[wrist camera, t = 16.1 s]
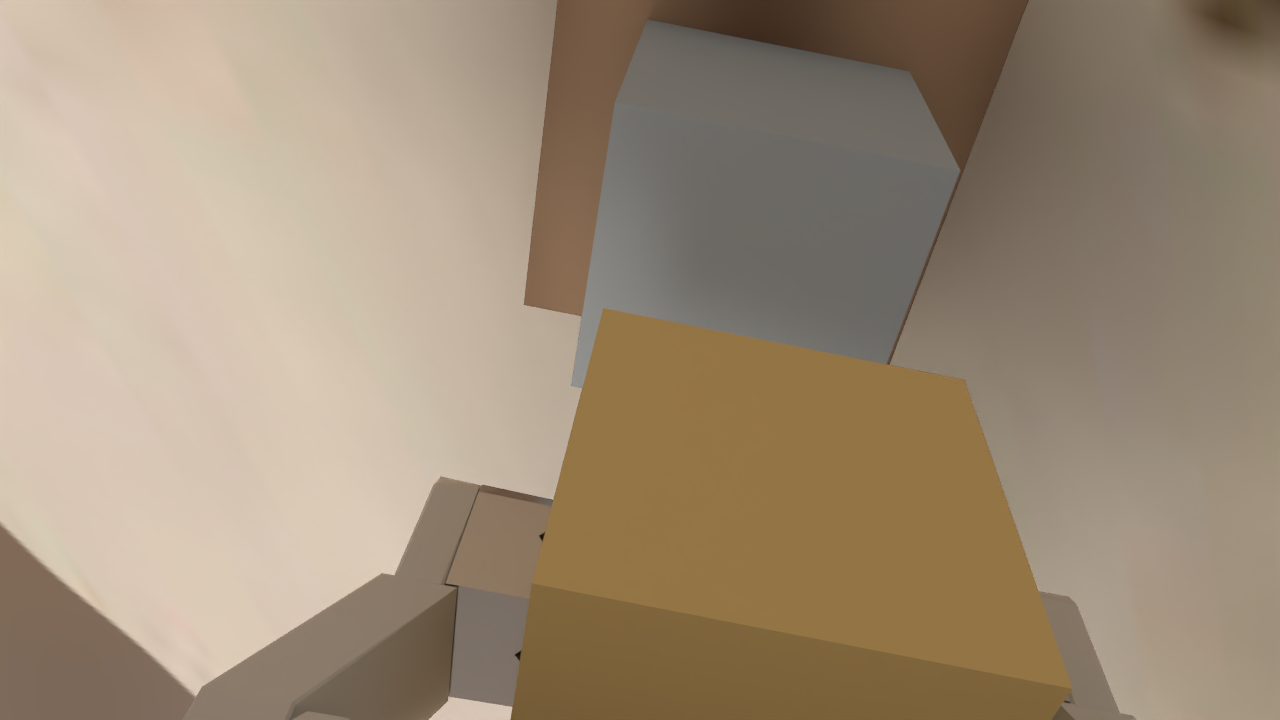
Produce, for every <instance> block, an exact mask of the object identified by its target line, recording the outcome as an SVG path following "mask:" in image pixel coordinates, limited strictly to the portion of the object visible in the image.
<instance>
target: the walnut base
mask: <svg viewBox="0 0 1280 720" xmlns="http://www.w3.org/2000/svg"><path fill="white" fill-rule="evenodd" d="M1027 3H1028V0H558V3H557V12H556V21H555V30H554V39H553V48H552V57H551V66H550V75H549V84H548V93H547V102H546V111H545V120H544V129H543V138H542V147H541V156H540V165H539V174H538V183H537V192H536V200H535V209H534V218H533V227H532V236H531V245H530V254H529V263H528V272H527V281H526V290H525V299H524V305H528V306H533V307H538V308H543V309H548V310H553V311H558V312H563V313H569V314H574V315H579V316H582V312H583V306H584V299H585V293H586V286H587V280H588V273H589V267H590V260H591V254H592V247H593V241H594V234H595V228H596V221H597V215H598V208H599V202H600V195H601V189H602V182H603V176H604V169H605V163H606V156H607V150H608V143H609V137H610V130H611V124H612V117H613V111H614V105H615V100H616V98H617V95H618V93H619V90H620V88H621V85H622V83H623V80H624V78H625V75H626V73H627V70H628V67H629V65H630V62H631V60H632V57H633V55H634V52H635V50H636V47H637V45H638V42H639V40H640V37H641V34H642V32H643V29H644V27H645V24H646V22H647V19H648V20H653V21H658V22H663V23H668V24H673V25H678V26H683V27H688V28H693V29H698V30H703V31H708V32H713V33H718V34H723V35H728V36H733V37H738V38H744V39H749V40H754V41H759V42H764V43H769V44H774V45H779V46H784V47H789V48H794V49H799V50H804V51H809V52H814V53H819V54H824V55H829V56H834V57H839V58H844V59H849V60H854V61H859V62H864V63H869V64H875V65H880V66H885V67H890V68H895V69H900V70H905V71H910V73H911V75H912V77H913V79H914V81H915V83H916V85H917V87H918V89H919V91H920V93H921V95H922V96H923V98H924V100H925V102H926V104H927V106H928V108H929V110H930V112H931V114H932V116H933V118H934V120H935V122H936V124H937V126H938V128H939V130H940V132H941V134H942V135H943V137H944V139H945V141H946V143H947V145H948V147H949V149H950V151H951V153H952V155H953V157H954V159H955V161H956V163H957V165H958V167H959V169H960V173H959V175H958V178H957V181H956V183H955V186H954V189H953V191H952V194H951V196H950V199H949V202H948V204H947V207H946V210H945V212H944V215H943V217H942V220H941V223H940V225H939V228H938V231H937V233H936V236H935V238H934V241H933V244H932V246H931V249H930V252H929V254H928V257H927V259H926V262H925V265H924V267H923V270H922V273H921V275H920V278H919V281H918V283H917V286H916V288H915V291H914V294H913V296H912V299H911V302H910V304H909V307H908V309H907V312H906V315H905V317H904V320H903V323H902V325H901V328H900V330H899V333H898V336H897V338H896V341H895V344H894V346H893V349H892V351H891V354H890V357H889V359H888V362H887V365H889V364H890V362H891V359H892V356H893V354H894V351H895V349H896V346H897V343H898V341H899V338H900V335H901V333H902V330H903V328H904V325H905V322H906V320H907V317H908V314H909V312H910V309H911V307H912V304H913V301H914V299H915V296H916V294H917V291H918V288H919V286H920V283H921V280H922V278H923V275H924V273H925V270H926V267H927V265H928V262H929V259H930V257H931V254H932V252H933V249H934V246H935V244H936V241H937V238H938V236H939V233H940V231H941V228H942V225H943V223H944V220H945V218H946V215H947V212H948V210H949V207H950V204H951V202H952V199H953V197H954V194H955V191H956V189H957V186H958V183H959V181H960V178H961V176H962V173H963V170H964V168H965V165H966V163H967V160H968V157H969V155H970V152H971V149H972V147H973V144H974V142H975V139H976V136H977V134H978V131H979V128H980V126H981V123H982V121H983V118H984V115H985V113H986V110H987V107H988V105H989V102H990V100H991V97H992V94H993V92H994V89H995V87H996V84H997V81H998V79H999V76H1000V73H1001V71H1002V68H1003V66H1004V63H1005V60H1006V58H1007V55H1008V52H1009V50H1010V47H1011V45H1012V42H1013V39H1014V37H1015V34H1016V32H1017V29H1018V26H1019V24H1020V21H1021V18H1022V16H1023V13H1024V11H1025V8H1026V5H1027Z"/></svg>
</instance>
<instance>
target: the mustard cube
mask: <svg viewBox="0 0 1280 720" xmlns="http://www.w3.org/2000/svg"><path fill="white" fill-rule="evenodd" d="M1071 690H1072V686H1071V683H1070V680H1069V677H1068V674H1067V671H1066V669H1065V666H1064V663H1063V660H1062V657H1061V654H1060V651H1059V649H1058V646H1057V643H1056V640H1055V637H1054V634H1053V631H1052V629H1051V626H1050V623H1049V620H1048V617H1047V614H1046V611H1045V609H1044V606H1043V603H1042V600H1041V597H1040V594H1039V591H1038V589H1037V586H1036V583H1035V580H1034V577H1033V574H1032V571H1031V569H1030V566H1029V563H1028V560H1027V557H1026V554H1025V551H1024V549H1023V546H1022V543H1021V540H1020V537H1019V534H1018V531H1017V529H1016V526H1015V523H1014V520H1013V517H1012V514H1011V511H1010V509H1009V506H1008V503H1007V500H1006V497H1005V494H1004V491H1003V489H1002V486H1001V483H1000V480H999V477H998V474H997V471H996V469H995V466H994V463H993V460H992V457H991V454H990V451H989V449H988V446H987V443H986V440H985V437H984V434H983V431H982V429H981V426H980V423H979V420H978V417H977V414H976V411H975V409H974V406H973V403H972V400H971V397H970V394H969V391H968V389H967V386H966V383H965V380H962V379H957V378H952V377H947V376H942V375H937V374H932V373H927V372H922V371H917V370H912V369H907V368H902V367H897V366H892V365H887V364H882V363H877V362H872V361H867V360H862V359H857V358H852V357H847V356H842V355H837V354H832V353H827V352H822V351H817V350H812V349H807V348H802V347H797V346H792V345H787V344H782V343H777V342H772V341H767V340H762V339H756V338H751V337H746V336H741V335H736V334H731V333H726V332H721V331H716V330H711V329H706V328H701V327H696V326H691V325H686V324H681V323H676V322H671V321H666V320H661V319H656V318H651V317H646V316H641V315H636V314H631V313H626V312H621V311H616V310H611V309H606V308H603V311H602V315H601V319H600V322H599V326H598V330H597V334H596V338H595V342H594V346H593V349H592V353H591V357H590V361H589V365H588V369H587V373H586V376H585V380H584V384H583V388H582V392H581V396H580V400H579V403H578V407H577V411H576V415H575V419H574V423H573V427H572V430H571V434H570V438H569V442H568V446H567V450H566V454H565V457H564V461H563V465H562V469H561V473H560V477H559V481H558V484H557V488H556V492H555V496H554V500H553V504H552V508H551V511H550V515H549V519H548V523H547V527H546V531H545V535H544V538H543V542H542V546H541V550H540V554H539V558H538V562H537V565H536V569H535V573H534V577H533V581H532V586H531V592H530V598H529V605H528V611H527V618H526V624H525V631H524V637H523V643H522V650H521V656H520V663H519V669H518V676H517V682H516V688H515V695H514V701H513V708H512V714H511V720H1051V719H1052V718H1053V717H1054V715H1055V714H1056V712H1057V711H1058V709H1059V708H1060V706H1061V705H1062V704H1063V702H1064V701H1065V699H1066V698H1067V696H1068V695H1069V693H1070V692H1071Z"/></svg>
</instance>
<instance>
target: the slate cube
mask: <svg viewBox="0 0 1280 720" xmlns="http://www.w3.org/2000/svg"><path fill="white" fill-rule="evenodd" d="M959 173H960V169H959V167H958V165H957V163H956V161H955V159H954V157H953V155H952V153H951V151H950V149H949V147H948V145H947V143H946V141H945V139H944V137H943V135H942V134H941V132H940V130H939V128H938V126H937V124H936V122H935V120H934V118H933V116H932V114H931V112H930V110H929V108H928V106H927V104H926V102H925V100H924V98H923V96H922V95H921V93H920V91H919V89H918V87H917V85H916V83H915V81H914V79H913V77H912V75H911V73H910V71H905V70H900V69H895V68H890V67H885V66H880V65H875V64H869V63H864V62H859V61H854V60H849V59H844V58H839V57H834V56H829V55H824V54H819V53H814V52H809V51H804V50H799V49H794V48H789V47H784V46H779V45H774V44H769V43H764V42H759V41H754V40H749V39H744V38H738V37H733V36H728V35H723V34H718V33H713V32H708V31H703V30H698V29H693V28H688V27H683V26H678V25H673V24H668V23H663V22H658V21H653V20H648V19H647V22H646V24H645V27H644V29H643V32H642V34H641V37H640V40H639V42H638V45H637V47H636V50H635V52H634V55H633V57H632V60H631V62H630V65H629V67H628V70H627V73H626V75H625V78H624V80H623V83H622V85H621V88H620V90H619V93H618V95H617V98H616V100H615V105H614V111H613V117H612V124H611V130H610V137H609V143H608V150H607V156H606V163H605V169H604V176H603V182H602V189H601V195H600V202H599V208H598V215H597V221H596V228H595V234H594V241H593V247H592V254H591V260H590V267H589V273H588V280H587V286H586V293H585V299H584V306H583V312H582V319H581V325H580V332H579V338H578V345H577V351H576V358H575V364H574V371H573V377H572V384H571V386H575V387H580V388H583V384H584V380H585V376H586V373H587V369H588V365H589V361H590V357H591V353H592V349H593V346H594V342H595V338H596V334H597V330H598V326H599V322H600V319H601V315H602V311H603V308H606V309H611V310H616V311H621V312H626V313H631V314H636V315H641V316H646V317H651V318H656V319H661V320H666V321H671V322H676V323H681V324H686V325H691V326H696V327H701V328H706V329H711V330H716V331H721V332H726V333H731V334H736V335H741V336H746V337H751V338H756V339H762V340H767V341H772V342H777V343H782V344H787V345H792V346H797V347H802V348H807V349H812V350H817V351H822V352H827V353H832V354H837V355H842V356H847V357H852V358H857V359H862V360H867V361H872V362H877V363H882V364H887V362H888V359H889V357H890V354H891V351H892V349H893V346H894V344H895V341H896V338H897V336H898V333H899V330H900V328H901V325H902V323H903V320H904V317H905V315H906V312H907V309H908V307H909V304H910V302H911V299H912V296H913V294H914V291H915V288H916V286H917V283H918V281H919V278H920V275H921V273H922V270H923V267H924V265H925V262H926V259H927V257H928V254H929V252H930V249H931V246H932V244H933V241H934V238H935V236H936V233H937V231H938V228H939V225H940V223H941V220H942V217H943V215H944V212H945V210H946V207H947V204H948V202H949V199H950V196H951V194H952V191H953V189H954V186H955V183H956V181H957V178H958V175H959Z"/></svg>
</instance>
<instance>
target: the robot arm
mask: <svg viewBox="0 0 1280 720" xmlns="http://www.w3.org/2000/svg"><path fill="white" fill-rule="evenodd" d="M552 504H553V500H551V499H546V498H542V497H537V496H532V495H528V494H523V493H518V492H514V491H509V490H504V489H500V488H495V487H491V486H486V485H482V486H480V485H476V484H472V483H467V482H463V481H458V480H454V479H449V478H445V477H440V478H439V479H438V480H437V482H436V483H435V484H434V485H433V487H432V490H431V492H430V494H429V497H428V499H427V501H426V504H425V506H424V508H423V511H422V513H421V515H420V518H419V520H418V522H417V524H416V527H415V529H414V531H413V534H412V536H411V538H410V541H409V543H408V545H407V548H406V550H405V552H404V555H403V557H402V559H401V561H400V564H399V566H398V568H397V571H396V573H395V575H389V574H383V573H382V574H380V575H378V576H377V577H375V578H374V579H372V580H371V581H369V582H367V583H366V584H364V585H363V586H361V587H359V588H358V589H356V590H355V591H353V592H352V593H350V594H348V595H347V596H345V597H344V598H342V599H340V600H339V601H337V602H336V603H334V604H333V605H331V606H329V607H328V608H326V609H325V610H323V611H321V612H320V613H318V614H317V615H315V616H314V617H312V618H310V619H309V620H307V621H306V622H304V623H302V624H301V625H299V626H298V627H296V628H295V629H293V630H291V631H290V632H288V633H287V634H285V635H283V636H282V637H280V638H279V639H277V640H276V641H274V642H272V643H271V644H269V645H268V646H266V647H264V648H263V649H261V650H260V651H258V652H257V653H255V654H253V655H252V656H250V657H249V658H247V659H245V660H244V661H242V662H241V663H239V664H238V665H236V666H234V667H233V668H231V669H230V670H228V671H226V672H225V673H223V674H222V675H220V676H219V677H217V678H215V679H214V680H212V681H211V682H209V683H207V684H206V685H204V686H203V687H202V688H201V690H200V691H199V693H198V695H197V697H196V698H195V700H194V702H193V703H192V705H191V707H190V708H189V710H188V712H187V713H186V715H185V717H184V719H183V720H428V719H429V718H430V717H431V716H432V715H434V714H435V713H436V712H437V711H438V710H439V709H440V708H441V707H442V706H443V705H444V704H445V703H446V702H447V701H448V696H449V697H455V698H461V699H468V700H474V701H480V702H486V703H493V704H499V705H505V706H511V707H513V701H514V695H515V688H516V682H517V676H518V669H519V663H520V656H521V650H522V643H523V637H524V631H525V624H526V618H527V611H528V605H529V598H530V592H531V586H532V581H533V577H534V573H535V569H536V565H537V562H538V558H539V554H540V550H541V546H542V542H543V538H544V535H545V531H546V527H547V523H548V519H549V515H550V511H551V508H552ZM1039 594H1040V597H1041V600H1042V603H1043V606H1044V609H1045V611H1046V614H1047V617H1048V620H1049V623H1050V626H1051V629H1052V631H1053V634H1054V637H1055V640H1056V643H1057V646H1058V649H1059V651H1060V654H1061V657H1062V660H1063V663H1064V666H1065V669H1066V671H1067V674H1068V677H1069V680H1070V683H1071V686H1072V690H1071V692H1070V693H1069V695H1068V696H1067V698H1066V699H1065V701H1064V702H1063V704H1062V705H1061V706H1060V708H1059V709H1058V711H1057V712H1056V714H1055V715H1054V717H1053V718H1052V719H1051V720H1136V719H1135V718H1134V717H1133V716H1131V715H1126V714H1121V713H1120V712H1119V710H1118V707H1117V705H1116V702H1115V700H1114V697H1113V695H1112V692H1111V690H1110V687H1109V685H1108V682H1107V680H1106V677H1105V675H1104V672H1103V670H1102V667H1101V665H1100V662H1099V660H1098V657H1097V655H1096V652H1095V650H1094V647H1093V645H1092V642H1091V640H1090V637H1089V635H1088V632H1087V630H1086V627H1085V625H1084V622H1083V620H1082V617H1081V615H1080V612H1079V610H1078V607H1077V605H1076V603H1075V602H1074V601H1073V600H1072V599H1071V598H1070V597H1068V596H1062V595H1057V594H1051V593H1045V592H1040V591H1039Z"/></svg>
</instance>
